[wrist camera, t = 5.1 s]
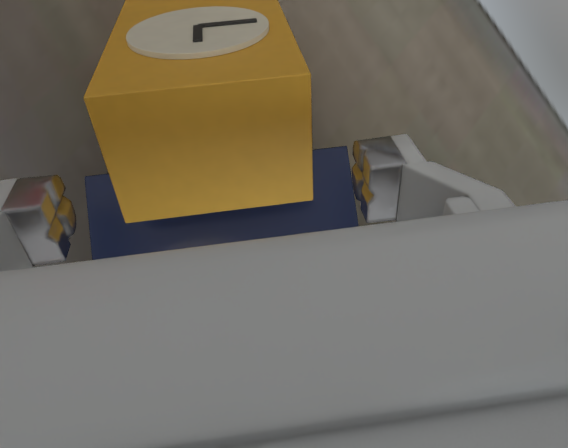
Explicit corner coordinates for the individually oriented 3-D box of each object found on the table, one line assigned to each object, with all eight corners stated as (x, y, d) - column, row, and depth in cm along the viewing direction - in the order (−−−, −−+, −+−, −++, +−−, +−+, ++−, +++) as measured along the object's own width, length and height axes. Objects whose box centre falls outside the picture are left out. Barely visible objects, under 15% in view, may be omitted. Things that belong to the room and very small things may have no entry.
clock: (295, 223, 24) (326, 182, 13) (166, 240, 23) (93, 211, 13) (268, 18, 25) (276, -170, 14) (143, 30, 24) (58, -155, 14)
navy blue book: (351, 337, 23) (377, 354, 18) (138, 367, 23) (104, 394, 17) (327, 172, 24) (347, 145, 19) (121, 197, 23) (84, 176, 18)
